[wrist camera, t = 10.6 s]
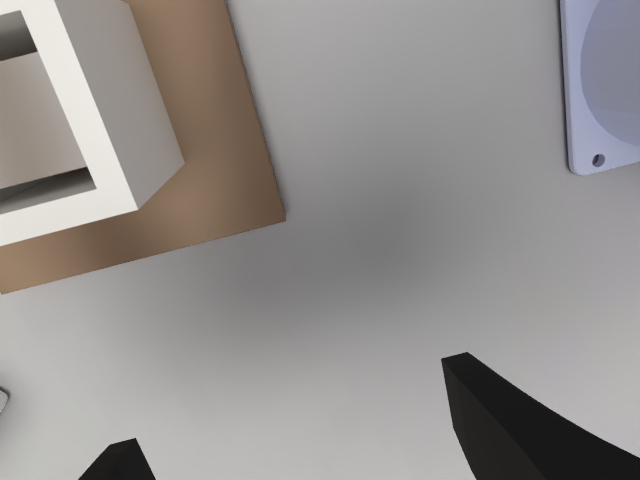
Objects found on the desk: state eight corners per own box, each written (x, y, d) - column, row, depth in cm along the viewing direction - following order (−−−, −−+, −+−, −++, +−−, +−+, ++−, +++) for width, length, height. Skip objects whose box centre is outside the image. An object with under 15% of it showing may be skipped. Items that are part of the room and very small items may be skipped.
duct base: (194, -110, 15) (150, -211, 10) (285, 212, 19) (288, 267, 13) (-140, -23, 15) (-372, -76, 10) (18, 281, 19) (-85, 364, 13)
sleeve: (128, 4, 15) (38, -38, 9) (184, 163, 17) (138, 209, 11) (-31, 46, 15) (-220, 29, 9) (42, 200, 17) (-78, 266, 11)
